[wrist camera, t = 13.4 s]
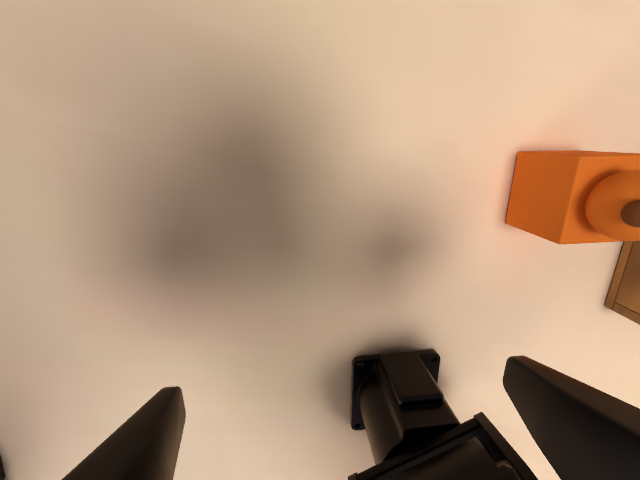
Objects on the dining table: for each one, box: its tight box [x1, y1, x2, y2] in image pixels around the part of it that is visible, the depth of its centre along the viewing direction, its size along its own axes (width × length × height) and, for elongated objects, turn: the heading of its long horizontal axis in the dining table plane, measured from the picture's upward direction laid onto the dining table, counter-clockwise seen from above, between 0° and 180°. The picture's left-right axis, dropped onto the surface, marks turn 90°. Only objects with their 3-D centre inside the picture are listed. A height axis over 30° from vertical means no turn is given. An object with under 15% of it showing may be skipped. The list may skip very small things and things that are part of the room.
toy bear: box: [506, 151, 640, 244], centre depth 17 cm, size 5×4×8 cm
